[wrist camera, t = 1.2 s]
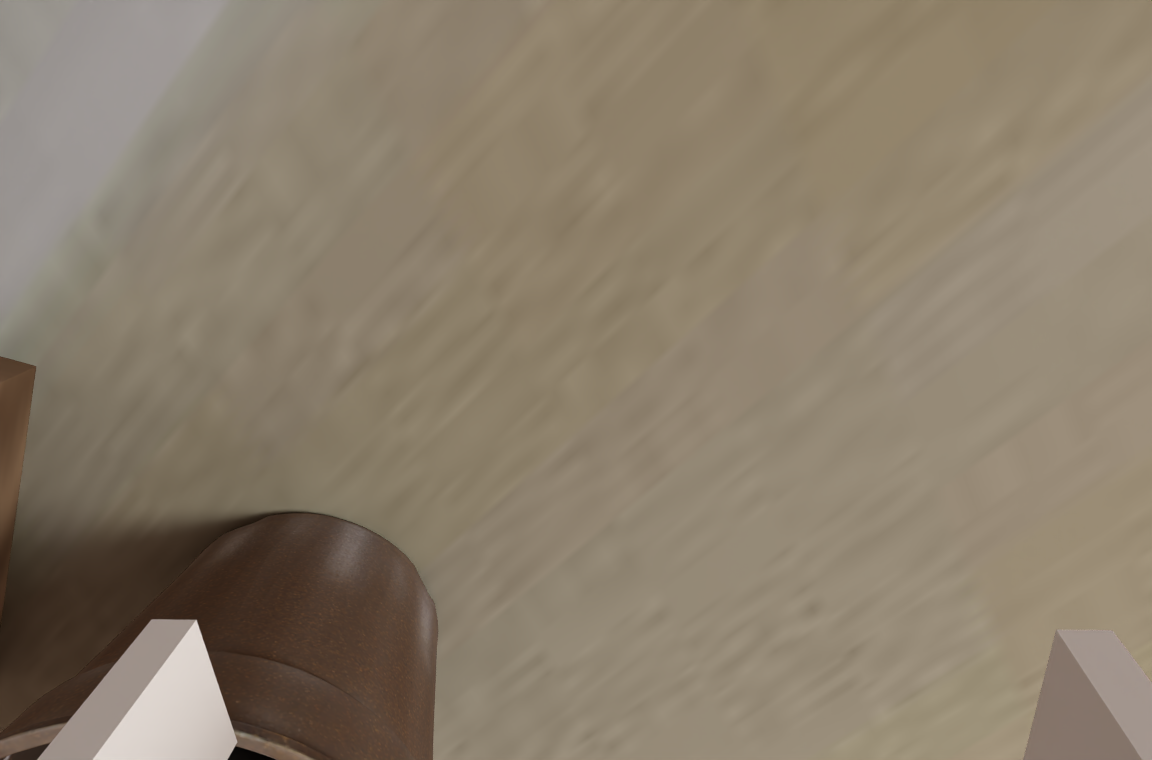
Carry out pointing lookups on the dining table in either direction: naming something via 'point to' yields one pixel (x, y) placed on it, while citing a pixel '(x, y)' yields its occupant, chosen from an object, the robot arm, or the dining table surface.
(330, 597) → the plant pot
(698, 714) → the dining table surface
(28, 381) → the block
